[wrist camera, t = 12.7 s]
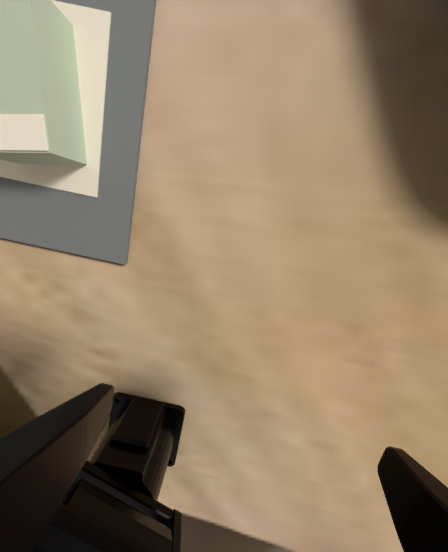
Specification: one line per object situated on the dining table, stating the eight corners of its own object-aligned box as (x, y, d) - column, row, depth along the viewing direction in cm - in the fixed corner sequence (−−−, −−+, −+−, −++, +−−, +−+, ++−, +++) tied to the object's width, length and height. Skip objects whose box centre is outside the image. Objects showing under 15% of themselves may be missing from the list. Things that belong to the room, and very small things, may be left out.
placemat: (127, 263, 20) (124, 265, 19) (-34, 228, 20) (-41, 229, 19) (163, -67, 15) (160, -77, 14) (-53, -111, 15) (-63, -122, 14)
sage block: (73, 25, 16) (25, -29, 12) (87, 164, 18) (49, 152, 14) (-4, 26, 16) (-73, -26, 12) (18, 163, 18) (-36, 151, 14)
